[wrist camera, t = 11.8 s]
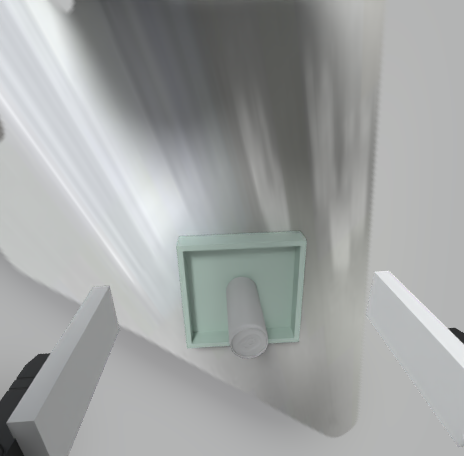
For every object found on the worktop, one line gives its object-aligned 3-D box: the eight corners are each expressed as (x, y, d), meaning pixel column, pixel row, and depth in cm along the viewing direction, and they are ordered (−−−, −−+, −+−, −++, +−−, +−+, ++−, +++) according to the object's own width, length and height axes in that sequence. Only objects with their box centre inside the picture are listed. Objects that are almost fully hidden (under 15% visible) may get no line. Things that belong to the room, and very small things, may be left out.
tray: (179, 236, 44) (176, 246, 41) (300, 230, 45) (306, 240, 41) (188, 333, 51) (187, 348, 48) (293, 327, 51) (298, 341, 48)
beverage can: (262, 288, 47) (277, 344, 36) (239, 305, 48) (246, 365, 37) (243, 268, 46) (252, 321, 35) (219, 287, 47) (220, 343, 36)
